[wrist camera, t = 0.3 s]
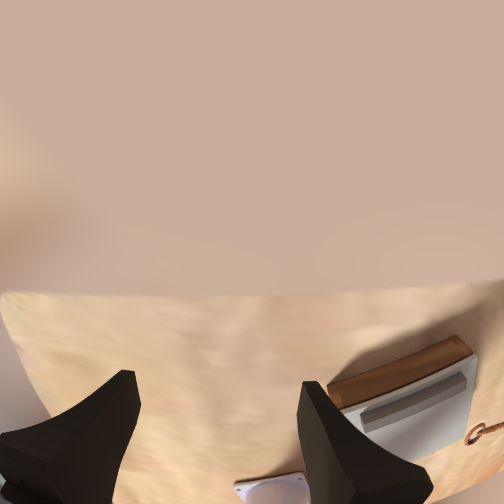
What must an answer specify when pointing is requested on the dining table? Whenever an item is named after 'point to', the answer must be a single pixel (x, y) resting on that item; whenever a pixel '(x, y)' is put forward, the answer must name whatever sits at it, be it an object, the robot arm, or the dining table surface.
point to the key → (482, 432)
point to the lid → (420, 413)
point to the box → (398, 373)
